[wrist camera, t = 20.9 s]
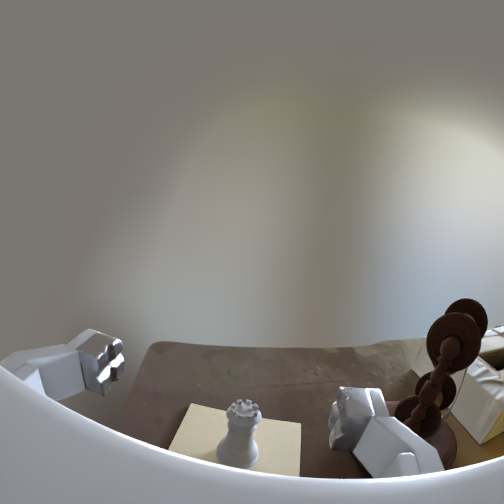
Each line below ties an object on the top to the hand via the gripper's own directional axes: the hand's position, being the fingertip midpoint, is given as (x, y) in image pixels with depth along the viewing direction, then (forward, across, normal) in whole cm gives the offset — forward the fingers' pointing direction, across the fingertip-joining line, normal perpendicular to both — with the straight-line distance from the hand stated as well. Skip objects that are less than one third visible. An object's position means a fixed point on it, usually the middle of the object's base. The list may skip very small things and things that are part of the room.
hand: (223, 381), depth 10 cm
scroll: (+15, -20, +21) cm, 33 cm away
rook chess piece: (+12, 0, +20) cm, 24 cm away
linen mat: (+12, 0, +21) cm, 24 cm away
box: (+28, -46, +20) cm, 58 cm away
